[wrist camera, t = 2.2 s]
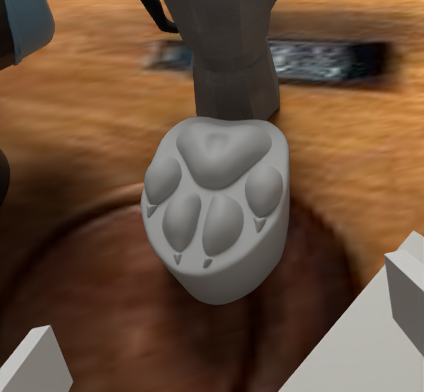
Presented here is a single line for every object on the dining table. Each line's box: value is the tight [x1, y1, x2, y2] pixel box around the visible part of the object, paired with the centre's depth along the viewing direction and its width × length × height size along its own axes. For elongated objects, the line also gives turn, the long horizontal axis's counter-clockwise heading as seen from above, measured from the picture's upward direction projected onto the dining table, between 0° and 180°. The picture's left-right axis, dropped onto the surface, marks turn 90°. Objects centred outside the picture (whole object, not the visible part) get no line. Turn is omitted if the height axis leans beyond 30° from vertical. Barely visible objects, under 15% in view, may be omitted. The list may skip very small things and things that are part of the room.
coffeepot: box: [141, 0, 280, 121], centre depth 32 cm, size 15×9×18 cm, turn 65°
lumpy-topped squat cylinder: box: [141, 117, 290, 305], centre depth 29 cm, size 10×13×9 cm
